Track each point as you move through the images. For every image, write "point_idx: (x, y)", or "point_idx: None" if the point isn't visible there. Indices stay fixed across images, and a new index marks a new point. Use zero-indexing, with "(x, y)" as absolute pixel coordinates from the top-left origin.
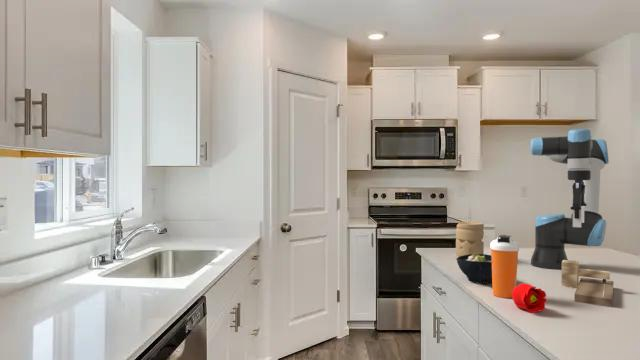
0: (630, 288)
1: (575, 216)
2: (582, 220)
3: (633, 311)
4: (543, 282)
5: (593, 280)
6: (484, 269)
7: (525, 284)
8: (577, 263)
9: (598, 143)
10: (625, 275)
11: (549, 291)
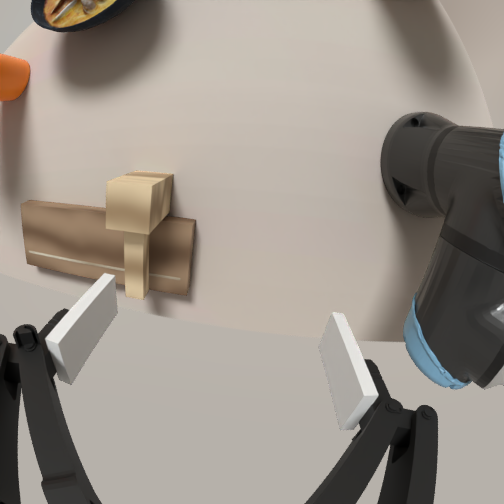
0: (208, 318)
1: (55, 319)
2: (323, 349)
3: (35, 283)
4: (161, 124)
5: (168, 252)
6: (43, 12)
7: None
8: (107, 228)
9: None
10: (357, 326)
11: (72, 148)
